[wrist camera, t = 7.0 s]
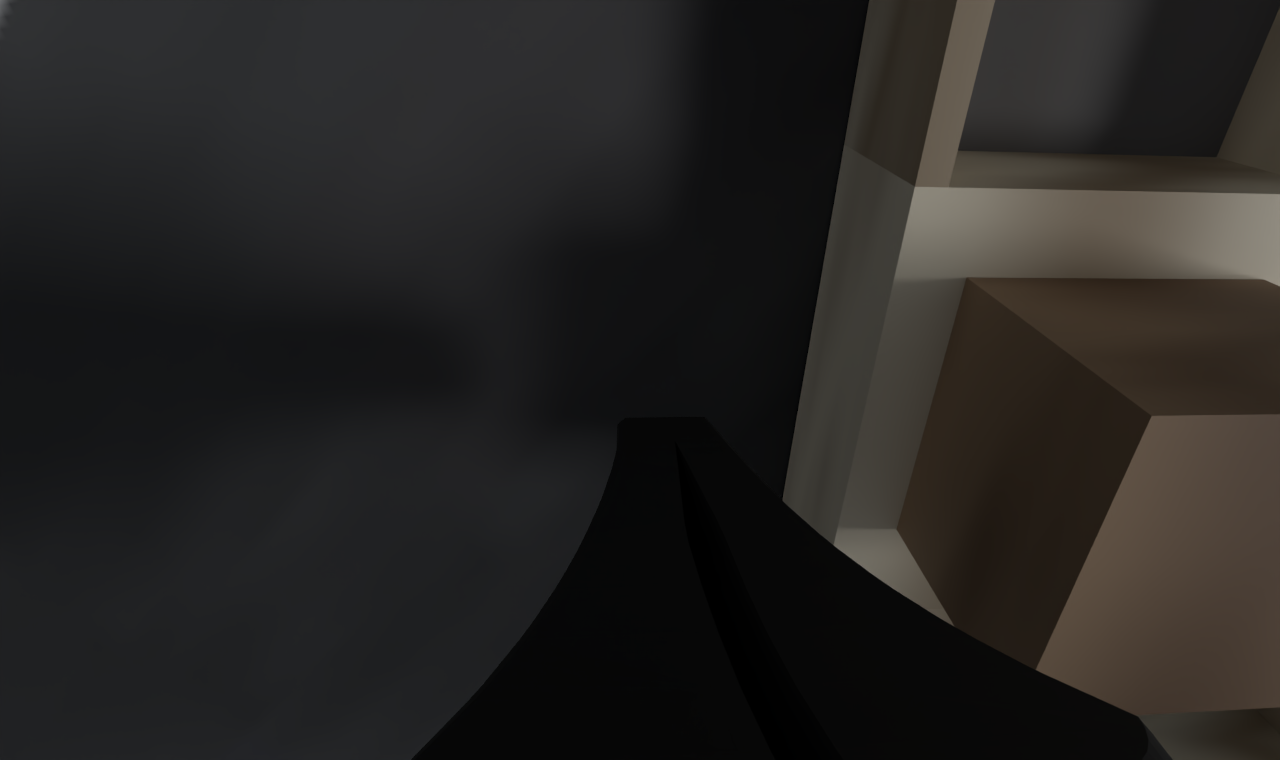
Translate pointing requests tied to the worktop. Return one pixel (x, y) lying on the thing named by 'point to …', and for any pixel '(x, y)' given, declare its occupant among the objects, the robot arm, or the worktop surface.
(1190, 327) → the walnut block
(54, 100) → the worktop surface
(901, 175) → the trap board
